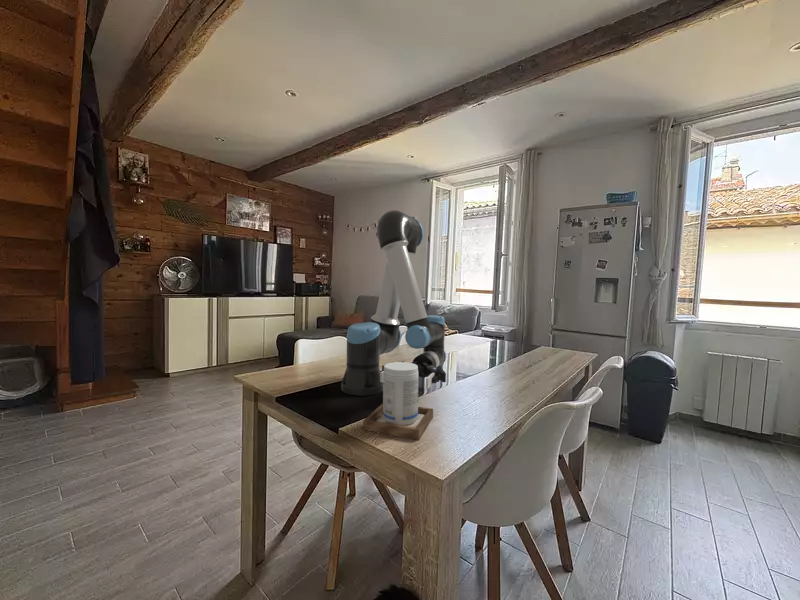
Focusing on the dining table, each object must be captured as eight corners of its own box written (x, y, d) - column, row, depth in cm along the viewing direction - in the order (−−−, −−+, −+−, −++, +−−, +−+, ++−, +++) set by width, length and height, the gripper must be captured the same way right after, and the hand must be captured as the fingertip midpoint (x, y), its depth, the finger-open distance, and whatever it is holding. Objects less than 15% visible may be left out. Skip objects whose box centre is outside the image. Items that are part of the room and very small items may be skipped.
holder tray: (363, 430, 85) (363, 420, 85) (384, 409, 100) (384, 401, 99) (419, 440, 81) (419, 430, 80) (433, 417, 95) (433, 408, 95)
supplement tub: (416, 412, 95) (418, 362, 94) (419, 427, 85) (420, 370, 85) (382, 412, 95) (384, 361, 94) (381, 426, 85) (382, 369, 85)
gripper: (462, 379, 108) (447, 400, 88) (391, 370, 117) (363, 387, 97) (462, 356, 107) (447, 372, 88) (392, 349, 116) (364, 362, 97)
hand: (403, 380), depth 92 cm, fingers open, 13 cm apart
